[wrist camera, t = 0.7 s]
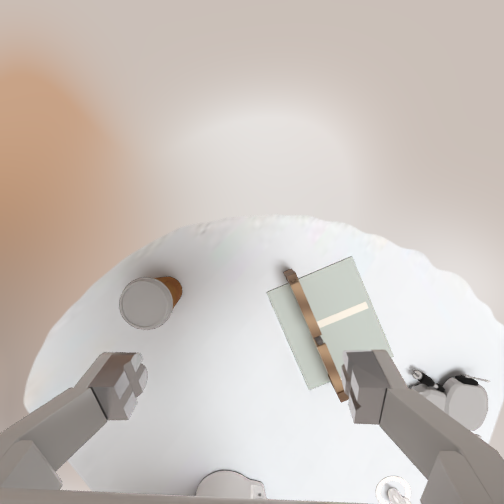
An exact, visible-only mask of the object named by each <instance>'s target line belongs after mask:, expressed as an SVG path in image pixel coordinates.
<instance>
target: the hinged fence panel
mask: <svg viewBox="0 0 504 504" xmlns="http://www.w3.org/2000/svg"><path fill="white" fill-rule="evenodd" d="M284 274H285V277H286V279H287V281H288V282H289V284H290V286H291V288H292V290H293V293H294V295H295V297H296V299H297V302H298V304H299V306H300V309H301V311H302V313H303V316H304V318H305V320H306V323H307V325H308V327H309V330H310V332H311V334H312V337H313V338H315V337H318V336H320V335H322V333H321V331H320V329H319V326H318V324H317V322H316V319H315V317H314V315H313V312H312V310H311V308H310V305H309V303H308V301H307V298H306V296H305V294H304V291H303V289H302V287H301V284H300V282H299V280H298V277H297V275H296V273H295V272H294V271H293V270H292V269H290V270H287V271H285V272H284Z"/></svg>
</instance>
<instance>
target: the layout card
mask: <svg viewBox="0 0 504 504" xmlns="http://www.w3.org/2000/svg"><path fill="white" fill-rule="evenodd" d="M298 280H299V282H300V284H301V287H302V289H303V291H304V294H305V296H306V298H307V301H308V303H309V305H310V308H311V310H312V312H313V315H314V317H315V319H316V322H317V324H318V326H319V329H320V331H321V333H322V335H320V336H321V338H322V340H323V343H326V345H327V348H328V350H329V352H330V355H331V357H332V359H333V362H334V364H335V366H336V369H337V371H338V373H339V376H340V378H341V366H342V365H343V364H344V362H343V359H342V354H343V351H344V350H384V349H385V350H386V351H387V352H388V353H389V355H390V357H394V356H393V353H392V351H391V349H390V346H389V344H388V341H387V339H386V337H385V334H384V332H383V329H382V327H381V325H380V322H379V320H378V317H377V315H376V313H375V310H374V308H373V305H372V303H371V301H370V298H369V296H368V293H367V291H366V289H365V286H364V284H363V281H362V279H361V277H360V274H359V272H358V269H357V267H356V265H355V262H354V260H353V257H352V256H351V257H349V258H347V259H344V260H342V261H340V262H337V263H335V264H332V265H330V266H328V267H325V268H323V269H321V270H318V271H316V272H314V273H311V274H309V275H307V276H304V277H302V278H299V279H298ZM267 294H268V297H269V299H270V301H271V303H272V306H273V308H274V310H275V313H276V315H277V317H278V319H279V322H280V324H281V326H282V329H283V331H284V333H285V336H286V338H287V340H288V342H289V345H290V347H291V349H292V352H293V354H294V356H295V358H296V361H297V363H298V365H299V368H300V370H301V372H302V374H303V377H304V379H305V381H306V384H307V386H308V388H309V390H311V389H314V388H316V387H319V386H321V385H324V384H326V383H329V382H331V381H330V379H329V377H328V372H327V369H326V367H325V365H324V362H323V360H322V358H321V355H320V353H319V351H318V348H317V346H316V343H315V341H314V339H313V337H312V334H311V332H310V330H309V327H308V325H307V323H306V320H305V318H304V316H303V313H302V311H301V309H300V306H299V304H298V302H297V299H296V297H295V295H294V293H293V290H292V288H291V286H290V284H289V283H288V284H285V285H283V286H281V287H278V288H276V289H274V290H271V291H269V292H267Z"/></svg>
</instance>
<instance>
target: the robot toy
mask: <svg viewBox="0 0 504 504" xmlns="http://www.w3.org/2000/svg"><path fill="white" fill-rule="evenodd" d="M414 372H415V373H416V375H415V374H414V373H413V377H414V378H415V379H418V381H420V382H421V383H423V384H419V385H417V386H412V387H411V389H414V390H416V391H417V392H418V393H420V394H421V395H422V396H424V397H425V398H426V399H428V400H429V401H430V402H432V403H433V404H435V405H436V406H437V407H439V408H440V409H441V410H443V411H444V412H445V413H447V414H448V415H449V416H451V417H452V418H453V419H455V420H456V421H457V422H459V423H460V424H461V425H463V426H464V427H466V428H467V429H468V430H472V431H474V430H476V429H478V428H479V427H480V426H481V425H482V423H483V421H484V420H485V417H486V414H487V411H488V397H487V393H486V391H485V389H484V388H483V387H482V386H480V385H479V384H478V382H477V381H475V380H474V379H478V380H482V381H485V382H490V381H488V380H484V379H480V378H475V377H471V376H469V375H465V376H462V375H461V376H456V377H455V378H454V377H452V378H450V379H448V380H447V381H446V382H445V383H444V385H443V386H441V385H440V384H438V383H437V384H435V383H434V382H433V380H432V379H431V378H430V377H428V376H427V375H425V374H423V373H421V372H420V371H417V370H416V371H414ZM475 435H476V436H478V437H479V438H480V437H481V436H480V435H477V434H475Z"/></svg>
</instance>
